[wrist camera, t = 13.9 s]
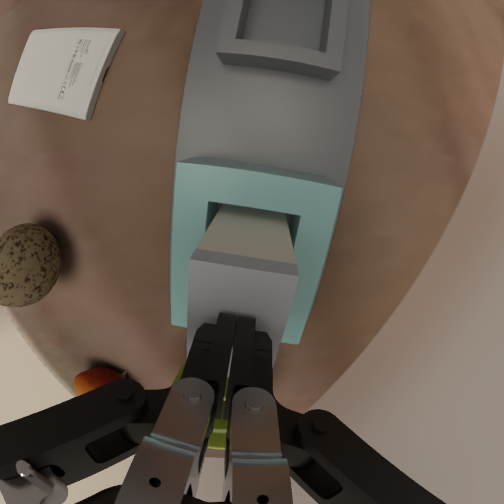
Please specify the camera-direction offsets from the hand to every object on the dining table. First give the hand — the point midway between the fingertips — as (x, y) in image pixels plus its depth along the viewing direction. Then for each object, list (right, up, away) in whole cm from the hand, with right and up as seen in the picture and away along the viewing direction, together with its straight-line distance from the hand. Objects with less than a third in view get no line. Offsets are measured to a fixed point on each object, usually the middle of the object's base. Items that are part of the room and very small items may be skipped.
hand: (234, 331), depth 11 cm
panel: (+2, +12, +7) cm, 14 cm away
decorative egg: (-20, +4, +12) cm, 23 cm away
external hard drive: (-17, +20, +5) cm, 27 cm away
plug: (+1, +4, +9) cm, 10 cm away
